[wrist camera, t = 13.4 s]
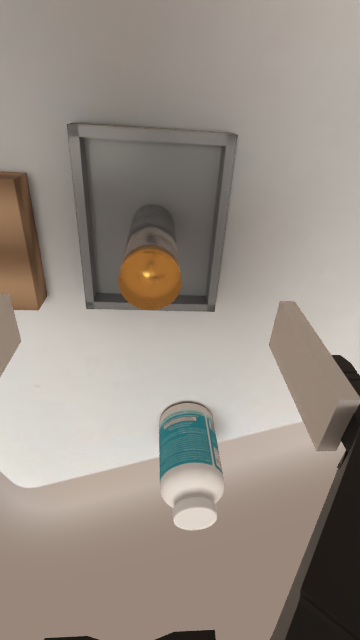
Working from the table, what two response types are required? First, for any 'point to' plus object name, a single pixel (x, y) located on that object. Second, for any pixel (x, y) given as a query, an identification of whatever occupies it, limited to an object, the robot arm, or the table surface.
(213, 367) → the table surface
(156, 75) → the table surface
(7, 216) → the socket block
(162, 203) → the tray
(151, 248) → the pin
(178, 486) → the pill bottle
